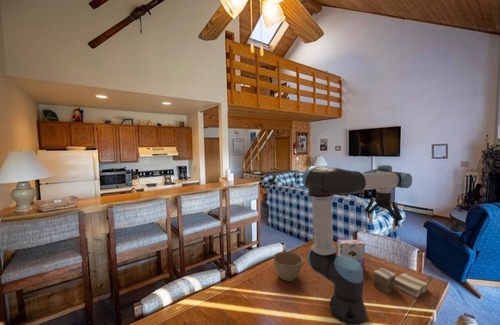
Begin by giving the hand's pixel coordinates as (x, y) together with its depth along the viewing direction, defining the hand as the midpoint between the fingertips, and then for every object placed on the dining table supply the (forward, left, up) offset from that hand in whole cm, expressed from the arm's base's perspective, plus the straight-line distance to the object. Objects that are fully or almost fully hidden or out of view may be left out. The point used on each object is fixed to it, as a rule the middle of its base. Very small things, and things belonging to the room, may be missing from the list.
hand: (381, 227), depth 131 cm
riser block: (-4, -17, -26) cm, 31 cm away
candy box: (-13, +11, -26) cm, 31 cm away
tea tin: (-15, -10, -26) cm, 31 cm away
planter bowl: (-51, +24, -26) cm, 62 cm away
